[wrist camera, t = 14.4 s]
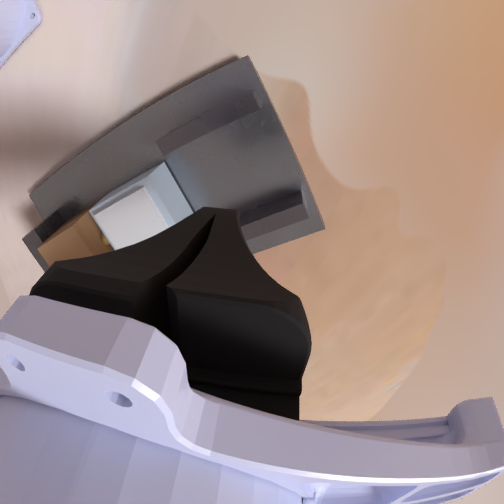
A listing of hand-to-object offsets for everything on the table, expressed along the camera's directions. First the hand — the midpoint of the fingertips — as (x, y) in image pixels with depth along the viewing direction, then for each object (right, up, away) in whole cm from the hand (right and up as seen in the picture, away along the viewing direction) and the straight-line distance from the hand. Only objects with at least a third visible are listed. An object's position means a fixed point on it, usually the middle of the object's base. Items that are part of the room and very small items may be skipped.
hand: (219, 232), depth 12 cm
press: (-5, +3, +10) cm, 12 cm away
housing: (-11, +1, +11) cm, 15 cm away
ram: (-6, +2, +9) cm, 11 cm away
